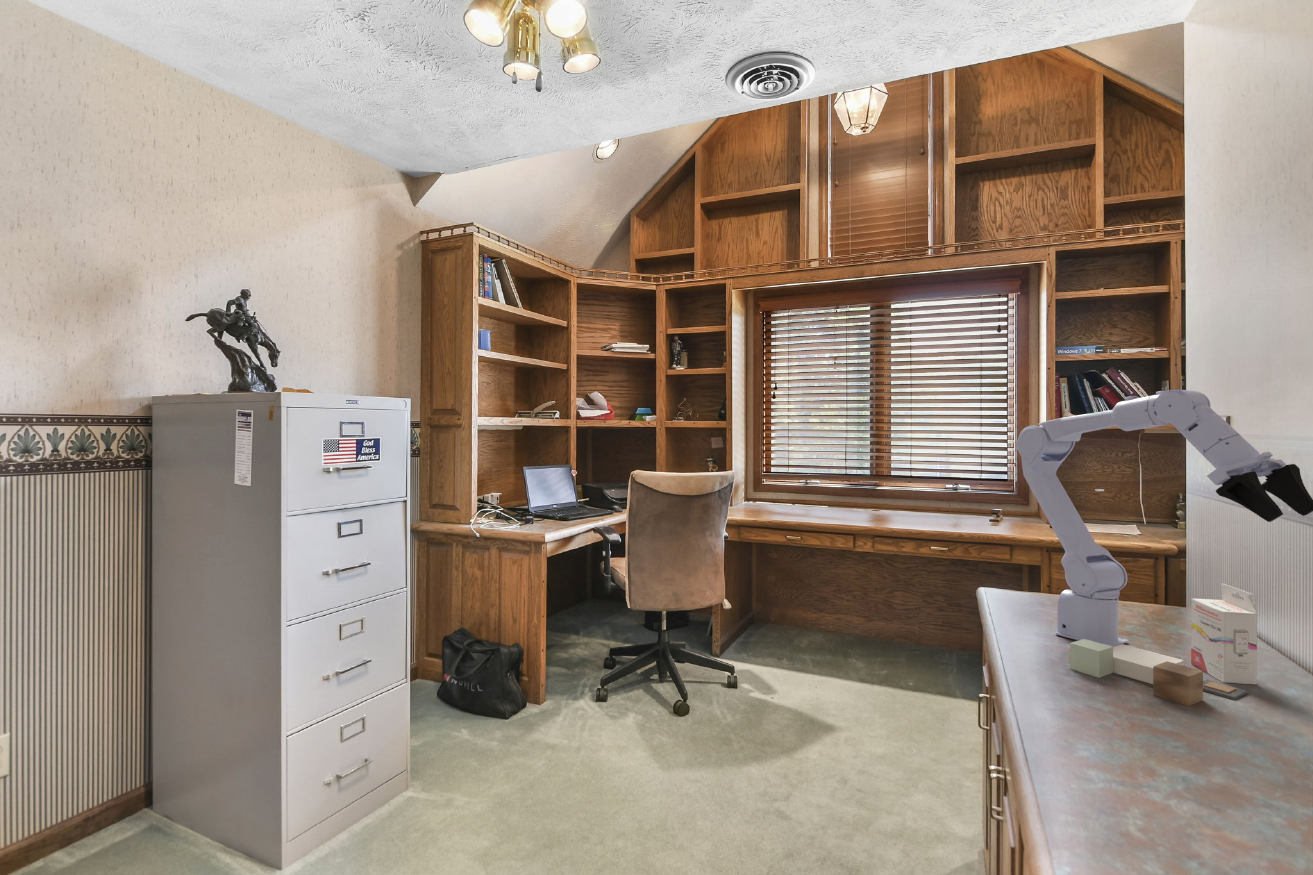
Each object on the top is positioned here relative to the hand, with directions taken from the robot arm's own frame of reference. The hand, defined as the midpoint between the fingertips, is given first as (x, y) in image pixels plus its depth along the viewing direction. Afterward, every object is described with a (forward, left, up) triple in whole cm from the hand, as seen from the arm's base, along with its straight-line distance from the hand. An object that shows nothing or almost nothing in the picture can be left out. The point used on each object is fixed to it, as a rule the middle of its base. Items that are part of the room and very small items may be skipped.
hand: (1293, 515), depth 93 cm
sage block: (-21, -14, -28) cm, 38 cm away
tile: (-7, -5, -28) cm, 29 cm away
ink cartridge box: (-9, +4, -28) cm, 30 cm away
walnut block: (-9, -14, -28) cm, 33 cm away
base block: (-17, -7, -29) cm, 34 cm away
